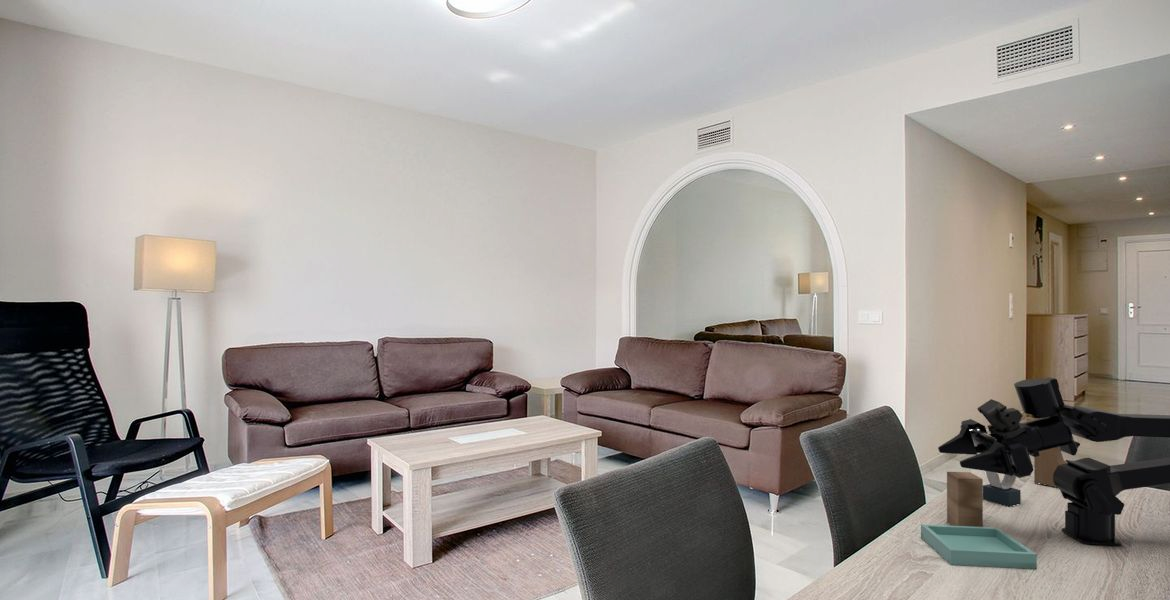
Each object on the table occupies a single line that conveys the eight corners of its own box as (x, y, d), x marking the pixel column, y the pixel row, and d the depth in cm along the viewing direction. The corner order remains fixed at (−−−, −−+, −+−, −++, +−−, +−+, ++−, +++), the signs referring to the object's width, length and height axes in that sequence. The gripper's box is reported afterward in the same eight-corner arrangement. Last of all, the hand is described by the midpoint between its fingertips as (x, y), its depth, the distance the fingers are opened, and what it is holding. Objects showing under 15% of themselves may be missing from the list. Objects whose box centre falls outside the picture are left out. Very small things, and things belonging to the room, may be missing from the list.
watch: (1025, 502, 130) (1025, 453, 130) (1003, 508, 127) (1003, 458, 127) (999, 495, 136) (999, 448, 136) (977, 500, 132) (977, 451, 132)
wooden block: (1085, 489, 140) (1085, 414, 140) (1081, 493, 137) (1080, 416, 137) (1038, 480, 147) (1038, 408, 147) (1033, 483, 144) (1033, 411, 144)
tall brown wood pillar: (970, 523, 118) (970, 472, 118) (982, 532, 114) (982, 479, 114) (947, 522, 119) (946, 471, 119) (958, 531, 115) (958, 478, 115)
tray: (997, 540, 110) (997, 527, 110) (1036, 569, 99) (1036, 554, 99) (920, 537, 112) (920, 524, 112) (950, 564, 100) (950, 550, 100)
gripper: (994, 387, 122) (917, 407, 124) (1051, 407, 103) (959, 430, 106) (1010, 438, 122) (933, 457, 124) (1070, 467, 103) (978, 489, 106)
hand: (949, 457), depth 115 cm, fingers open, 9 cm apart
